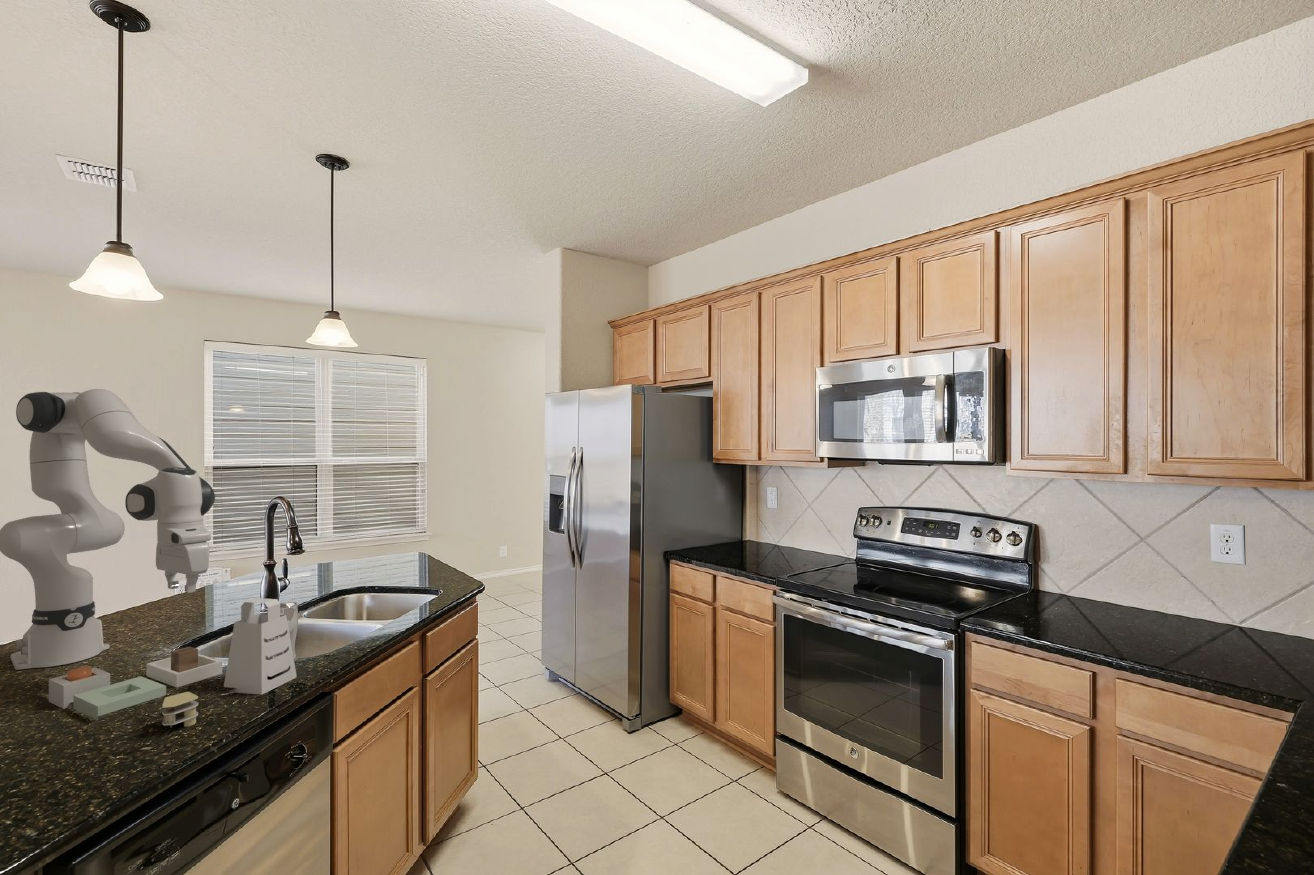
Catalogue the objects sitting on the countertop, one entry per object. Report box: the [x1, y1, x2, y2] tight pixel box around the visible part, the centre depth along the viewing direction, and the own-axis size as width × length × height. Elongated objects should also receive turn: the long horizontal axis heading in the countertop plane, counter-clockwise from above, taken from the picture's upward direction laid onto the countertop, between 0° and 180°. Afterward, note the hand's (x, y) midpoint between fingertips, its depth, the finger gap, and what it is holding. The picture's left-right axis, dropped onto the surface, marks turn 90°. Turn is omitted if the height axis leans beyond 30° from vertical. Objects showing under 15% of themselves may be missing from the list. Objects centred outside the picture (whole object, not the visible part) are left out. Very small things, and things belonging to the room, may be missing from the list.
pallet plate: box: [73, 675, 167, 722], centre depth 135 cm, size 12×12×3 cm
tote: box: [146, 653, 223, 688], centre depth 149 cm, size 15×10×4 cm, turn 62°
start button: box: [67, 665, 93, 682], centre depth 138 cm, size 4×4×3 cm
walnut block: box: [170, 646, 199, 673], centre depth 149 cm, size 4×4×6 cm
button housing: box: [48, 667, 111, 710], centre depth 138 cm, size 8×8×5 cm
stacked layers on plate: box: [161, 691, 199, 728], centre depth 125 cm, size 10×9×6 cm
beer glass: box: [266, 601, 299, 660], centre depth 160 cm, size 7×7×15 cm
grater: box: [223, 597, 298, 696], centre depth 146 cm, size 10×10×20 cm
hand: (181, 590), depth 149 cm, fingers open, 8 cm apart
